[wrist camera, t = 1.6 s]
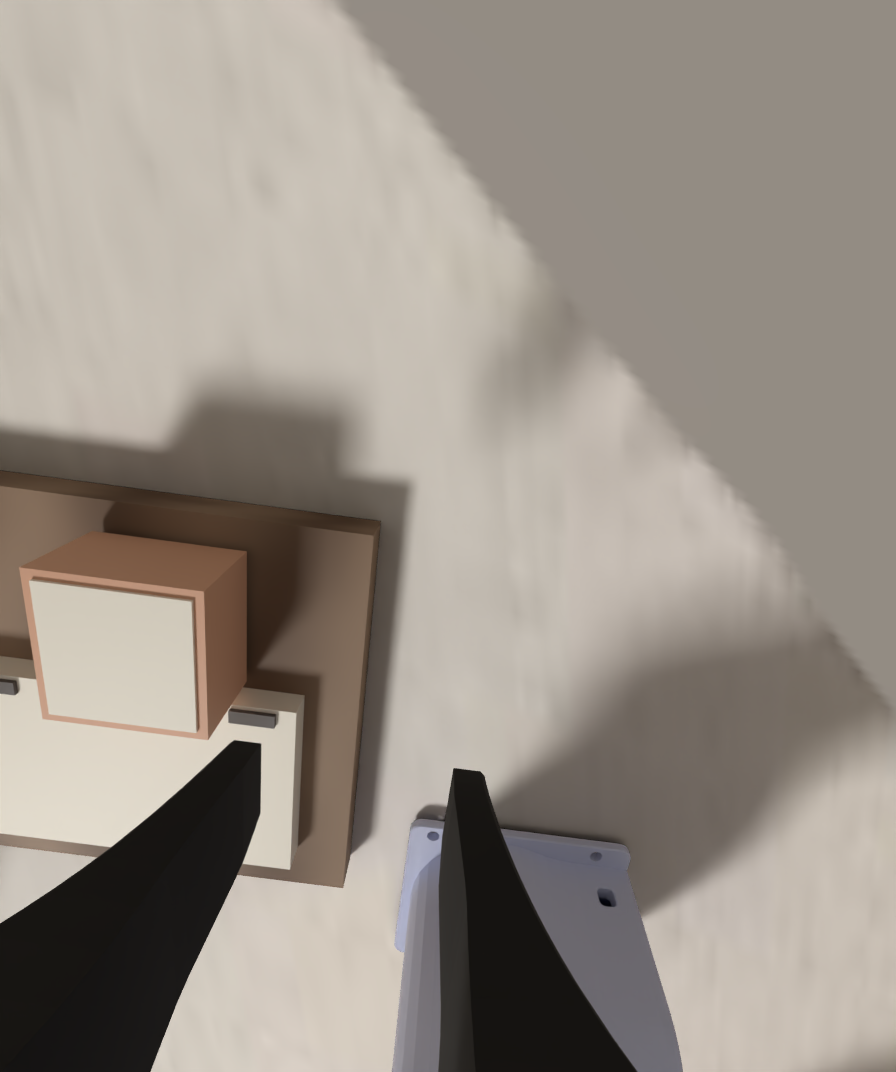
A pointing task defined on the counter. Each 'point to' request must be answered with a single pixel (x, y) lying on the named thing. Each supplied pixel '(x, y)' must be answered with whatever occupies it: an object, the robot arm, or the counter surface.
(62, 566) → the small tan block
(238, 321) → the counter surface
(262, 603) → the board
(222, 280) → the counter surface
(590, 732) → the counter surface
